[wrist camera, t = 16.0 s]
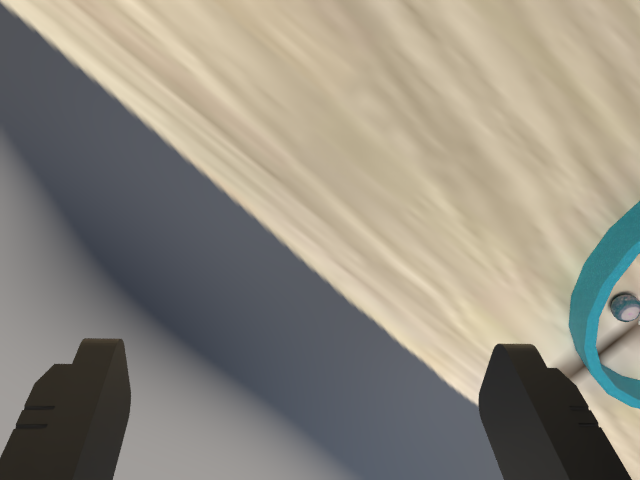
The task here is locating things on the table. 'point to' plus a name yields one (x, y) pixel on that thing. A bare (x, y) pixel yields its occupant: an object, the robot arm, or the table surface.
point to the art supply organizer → (590, 298)
